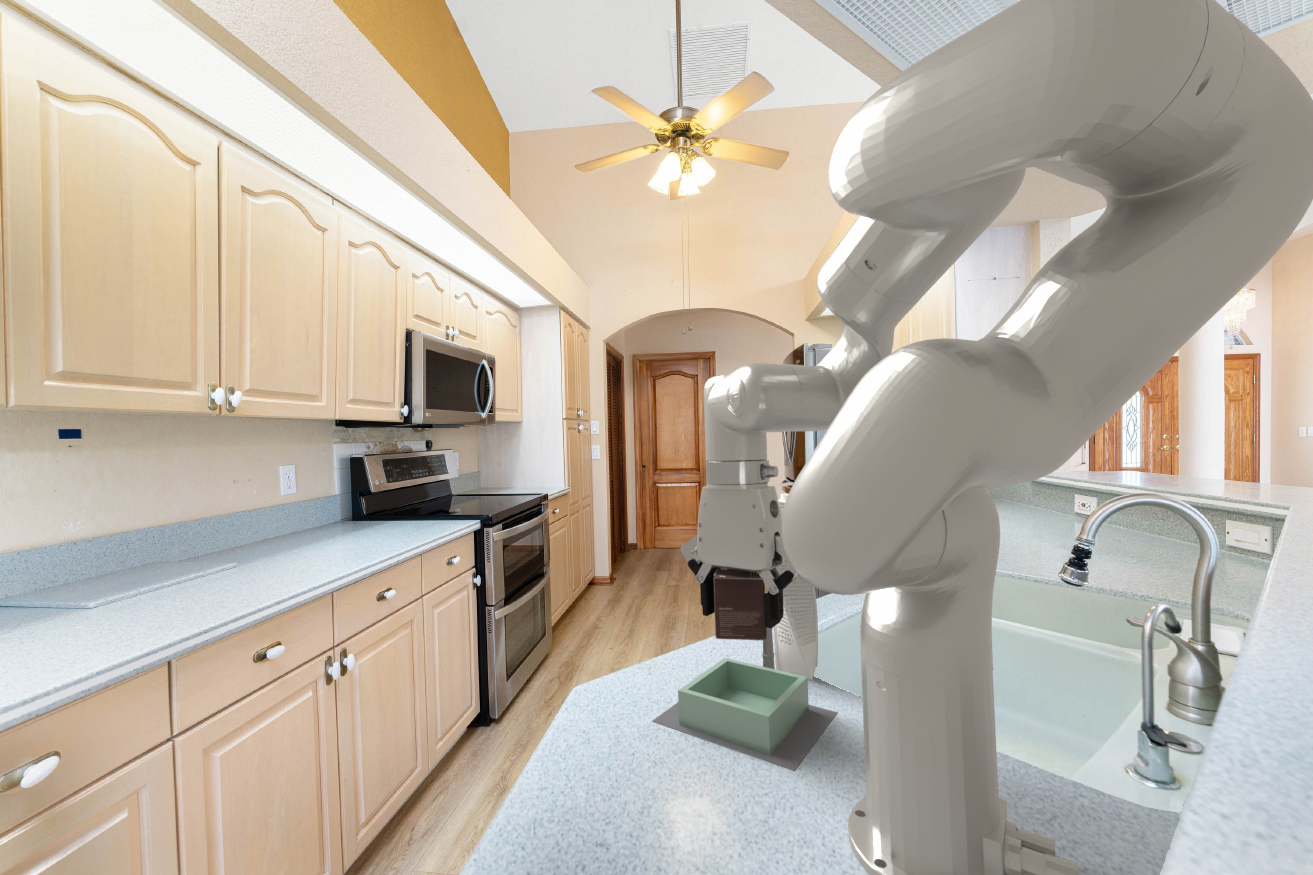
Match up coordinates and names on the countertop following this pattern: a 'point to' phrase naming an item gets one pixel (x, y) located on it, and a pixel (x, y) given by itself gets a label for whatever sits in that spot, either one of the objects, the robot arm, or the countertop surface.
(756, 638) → the box
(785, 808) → the countertop surface
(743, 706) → the crate
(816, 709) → the mat
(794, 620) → the skyscraper
